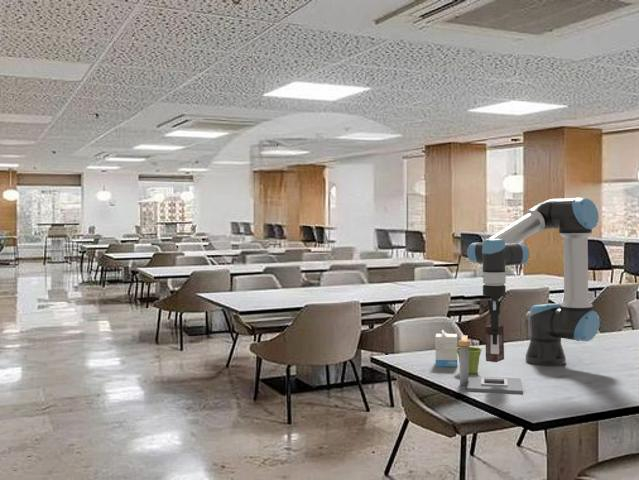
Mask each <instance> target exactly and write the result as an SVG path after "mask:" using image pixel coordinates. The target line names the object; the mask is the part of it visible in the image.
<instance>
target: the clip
mask: <svg viewBox="0 0 639 480" xmlns="http://www.w3.org/2000/svg"><path fill="white" fill-rule="evenodd" d="M468 336H469V335H465V334H464V335H463V334H461V339H460V340H457V347H460V346H463V347H467V346H469V347H471V341H470V340H468Z"/></svg>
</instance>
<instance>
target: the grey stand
mask: <svg viewBox="0 0 639 480" xmlns="http://www.w3.org/2000/svg"><path fill="white" fill-rule="evenodd" d="M459 347H460V362H459V385H460V386H466V392H479V393H480V392H481V393H482V392H483V393H497V394H498V393H500V394H501V393H502V394H517V395H518V394H519V395H523V394H524V389H523V383H522V379H521V378H519V377H499V376H498V377H497V376H480V375H477V376H476V375H470V373H469V347H470V346H467V347H463V346H459Z"/></svg>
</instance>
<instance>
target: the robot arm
mask: <svg viewBox="0 0 639 480" xmlns="http://www.w3.org/2000/svg"><path fill="white" fill-rule="evenodd" d="M599 218H600V217H599V212H598V208H597V205H596V204H595V203H594V201H593V200H592V199H590V198H587V197H566V198H551V199H547V200H544V201H542V202H540V203H538V204H536V205H534V206H532V207H531V208H529V209H528V210H526V211H525V212H524V213H523V216H522V217H520V218H518V219H516V220H515V221H513V222H511V223H510V224H509V225H508V226H505V227H504V228H503V229H500V231H498V232H496V233H495V234H493V235H491V236H490V237H488V238H487V239H486V238H485V239H484V240H483V241H482V242H477V241H476V242H472V243H471V244H469V245H468V247H467V250H466V256H467V259H468V260H469V261H470V262H471V263H473V264H478V265H481V264H482V274H480V278H482V283H483V285H482V295H483V297H486V298H487V297H490V300H488V301H487V302H488V314H489V316H490V325H491V333H489V335H491V354H499V329H498V325H499V315H500V314H501V313H500V312H501V309H500V308H501V301H500V300H499V299H498V298H500V297H505V296H506V295H507V294H506V293H507V291H506V290H507V289H506V285H505V284H506V283H507V279H506V278H507V275H506V266H507V267H508V266H520V265H524V264H526V263H527V262H528V261H529V259H530V250H529V248H528V247H527V245H525V244H524V243H521V242H523V241H524V240H525V239H527V238H529V237H531V236H532V235H533V234H535V233H541V232H543V231H544V230H551V229H552V230H553V229H555V230H557V229H558V230H559V231H558V234H559V235H560V237H562V238H563V294H564V295H563V297H564V300H563V301H562V302H561V303H559V302H558V303H545V304H543V303H541V304H534V305H532V306H531V307H530V314H529V323H530V324H529V326H530V327H529V333H530V334H529V336H530V337H529V339H530V340H529V345H528V347H527V351H526V353H525V362H526V363H529V364H532V365H533V364H534V365H539V366H561V365H565V364H566V359H567V358H566V354H565V352H564V348H563V345H562V339H566V340H570V341H571V340H572V341H575V342H576V341H577V342H589V341H592V340H593V339H594V338H595V336H596V335H597V334H598V331H599V328H600V325H601V323H600V322H601V321H600V316H599V314H598V312H596V311H594V310H593V308H594V307H593V306H594V305H593V304H592V303H591V302H590V301H589V252H588V250H589V249H588V247H589V245H588V240H589V239H588V238H589V237H590V236H591V235H592V233H593V229H595V228H596V227H597V226H598V222H599Z"/></svg>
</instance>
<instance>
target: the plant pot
mask: <svg viewBox="0 0 639 480" xmlns="http://www.w3.org/2000/svg"><path fill="white" fill-rule="evenodd" d="M456 350H457V357H458V360H459V363H460V346H458V347H457V348H456ZM482 350H483V349H482V348H479V347H475V346H469V375H470V374H471V375H474V374H477V373H478V371H479V363H480V355H481V352H482Z"/></svg>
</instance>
